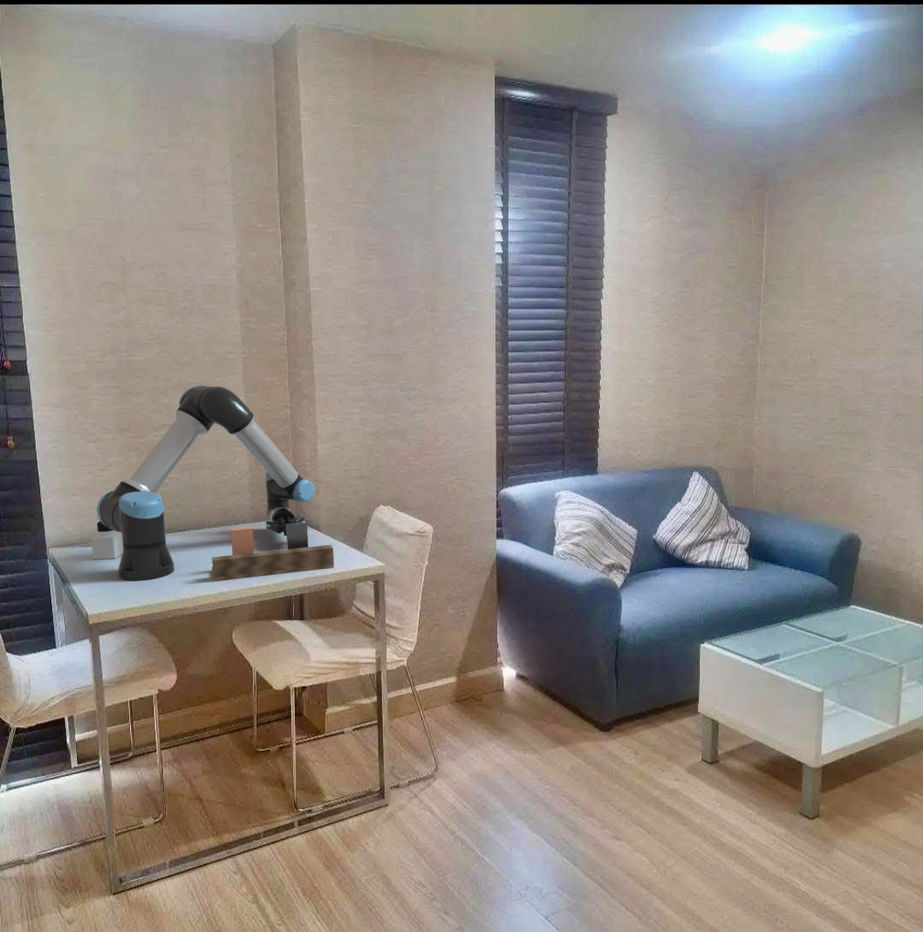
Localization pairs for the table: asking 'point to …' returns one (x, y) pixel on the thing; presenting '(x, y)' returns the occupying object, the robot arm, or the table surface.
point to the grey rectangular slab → (297, 535)
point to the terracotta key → (242, 541)
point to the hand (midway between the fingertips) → (292, 533)
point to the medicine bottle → (106, 543)
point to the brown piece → (272, 562)
